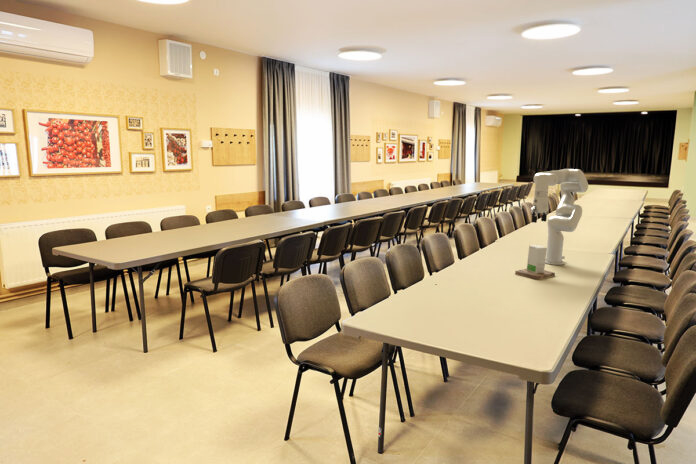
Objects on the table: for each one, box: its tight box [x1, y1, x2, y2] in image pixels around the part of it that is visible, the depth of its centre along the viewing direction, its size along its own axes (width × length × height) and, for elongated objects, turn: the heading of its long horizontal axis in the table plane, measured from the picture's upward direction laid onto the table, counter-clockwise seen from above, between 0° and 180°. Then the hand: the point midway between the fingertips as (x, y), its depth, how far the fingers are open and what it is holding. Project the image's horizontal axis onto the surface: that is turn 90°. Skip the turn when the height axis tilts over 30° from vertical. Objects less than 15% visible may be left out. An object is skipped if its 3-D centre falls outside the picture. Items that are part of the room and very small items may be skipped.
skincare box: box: [526, 244, 547, 273], centre depth 273 cm, size 8×7×16 cm
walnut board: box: [514, 268, 556, 281], centre depth 274 cm, size 17×15×2 cm
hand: (538, 221), depth 283 cm, fingers open, 9 cm apart
